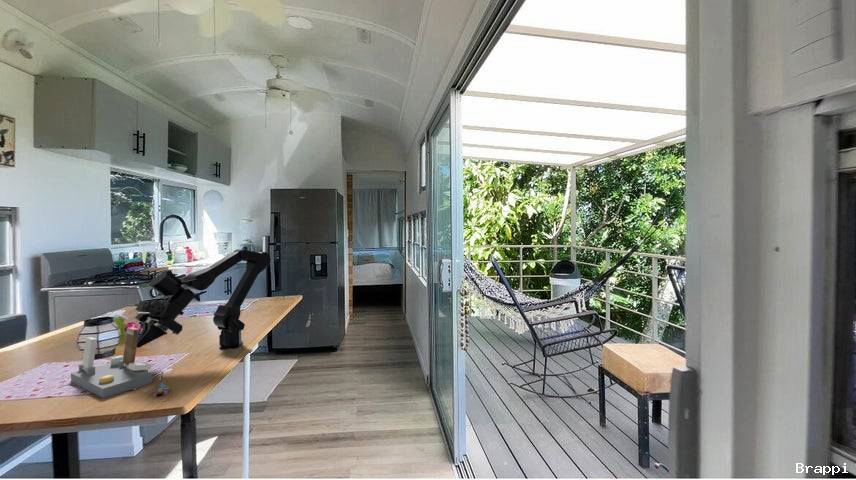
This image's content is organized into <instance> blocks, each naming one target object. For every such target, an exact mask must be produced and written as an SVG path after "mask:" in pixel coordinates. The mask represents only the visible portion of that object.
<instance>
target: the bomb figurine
mask: <svg viewBox="0 0 856 480" xmlns="http://www.w3.org/2000/svg"><path fill="white" fill-rule="evenodd" d="M159 381H160V384H159V385H157V386H156V387H155V388H154V390H153V395H152V398H153V399H155V398H158V396H160V395H162V396H163V397H167V396H168V395H169V393H168V392H169V391H170V389H171V388H170V386H168V385H166V384H163V376H162V375H160V376H159Z"/></svg>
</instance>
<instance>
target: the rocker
mask: <svg viewBox="0 0 856 480" xmlns="http://www.w3.org/2000/svg"><path fill="white" fill-rule="evenodd" d="M128 368H129V369H131V370H134V371H137V370H148V371H150V370H152V363H148V362H146V361H143V362H141V361H140V362H134V363H129V366H128Z"/></svg>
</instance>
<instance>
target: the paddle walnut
mask: <svg viewBox="0 0 856 480" xmlns="http://www.w3.org/2000/svg"><path fill="white" fill-rule="evenodd" d="M139 332H140V329H139V328H136V327H134V326H133V327H127V328H126V335H125V343H124V349H123V351H124V352H123V362H125V364H127V365H129V363H136V362H135V360H136V356H137V355H136V354H137V349H138V348H137V340H138V338H139V335H140V333H139Z"/></svg>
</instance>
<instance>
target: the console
mask: <svg viewBox="0 0 856 480" xmlns="http://www.w3.org/2000/svg"><path fill="white" fill-rule="evenodd" d="M128 366H129V365H127V364H125V362H123V360H121V361H119V366H111V362H109V363H105V364H101V365H97V366H95V365H93V367H89V368H87V369H86V368H84V366H82V363H80V364H78V371H75V372H71V373H70V382H72V383H73V384H75V385H77V386H78V387H81V388H83V389H85V390H86V391H88V392H90V393H92V394H94V395H96V396H98V397H100V398H102V399H105V398H108V397H111V396H114V395H116V394H120V393H123V392H126V391H129V390H133V389H136V388H140V387H141V386H146V385H148V384H151V383H153V373H151V372H149V370H137V371H134V370H131V369H129V368H128Z"/></svg>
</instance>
